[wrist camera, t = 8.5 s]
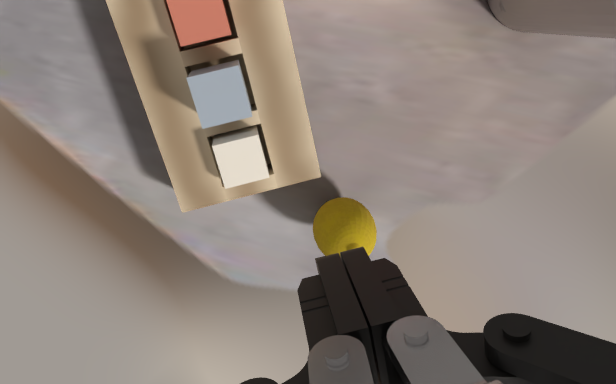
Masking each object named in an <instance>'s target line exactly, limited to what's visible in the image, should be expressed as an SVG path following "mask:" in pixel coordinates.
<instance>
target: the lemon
mask: <svg viewBox="0 0 616 384" xmlns="http://www.w3.org/2000/svg"><path fill="white" fill-rule="evenodd" d="M313 233H314V239H315V241H316V243H317V245H318V248H319V249H320V250H321V251H322V253H323V254H324V255H325V256H327V255H331V254H335V253H339V255H340V252H343V251H347V250H351V249H355V248H359V247H364V248H365V250H366V252H367V254H368V256H369V255H370V253H371V252H372V250H373V249H374V246H375V243H376V226H375V222H374V219H373V217H372V216H371V214H370V212H369V211H368V209H366V208H365V207H364V206H363V205H362V204H361V203H359V202H358V201H356V200H354V199H350V198H335V199H332V200H330V201H328V202H326V203H325V204H324V205H322V206H321V207H320V209H319V210H318V212H317V213H316V216H315V218H314V223H313Z"/></svg>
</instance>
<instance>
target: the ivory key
mask: <svg viewBox="0 0 616 384" xmlns="http://www.w3.org/2000/svg"><path fill="white" fill-rule="evenodd" d="M212 148H213V151H214V154H215V158H216V161H217V164H218V167H219V170H220V174H221V177H222V180H223V183H224V186H225V189H227V188H231V187H235V186H239V185H243V184H247V183H250V182H254V181H258V180H262V179H266V178H270V177H269V172H268V167H267V162H266V158H265V155H264V151H263V147H262V143H261V140H260V136H259V132H258V128H257V125H253V126H249V127H245V128H241V129H237V130H233V131H229V132H225V133H221V134H217V135H214V138H213V143H212Z"/></svg>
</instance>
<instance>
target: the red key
mask: <svg viewBox="0 0 616 384" xmlns="http://www.w3.org/2000/svg"><path fill="white" fill-rule="evenodd" d="M166 1H167V4H168V7H169V10H170V14H171V17H172V20H173V23H174V26H175V30H176V33H177V36H178V39H179V42H180V46H181V47H182V46H186V45H190V44H194V43H199V42H203V41H207V40H211V39H215V38H220V37H224V36H228V35H231V34H232V31H231V27H230V23H229V20H228V16H227V12H226V9H225V5H224V1H223V0H166Z"/></svg>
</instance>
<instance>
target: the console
mask: <svg viewBox="0 0 616 384" xmlns="http://www.w3.org/2000/svg"><path fill="white" fill-rule="evenodd" d="M223 1H224V5H225V9H226V12H227V16H228V20H229V23H230V27H231V31H232V34H231V35H228V36H224V37H220V38H215V39H211V40H207V41H203V42H199V43H194V44H190V45H186V46H182V47H181V46H180V42H179V39H178V36H177V33H176V30H175V26H174V23H173V20H172V17H171V14H170V10H169V7H168V4H167V1H166V0H106V3H107V6H108V8H109V11H110V14H111V17H112V20H113V22H114V25H115V28H116V31H117V33H118V36H119V39H120V42H121V44H122V47H123V50H124V53H125V55H126V58H127V61H128V64H129V67H130V69H131V72H132V75H133V78H134V80H135V83H136V86H137V89H138V91H139V94H140V97H141V100H142V102H143V105H144V108H145V111H146V114H147V116H148V119H149V122H150V125H151V127H152V130H153V133H154V136H155V138H156V141H157V144H158V147H159V149H160V152H161V155H162V158H163V161H164V163H165V166H166V169H167V172H168V174H169V177H170V180H171V183H172V185H173V188H174V191H175V194H176V197H177V199H178V202H179V205H180V208H181V210H182V213H183V212H187V211H191V210H195V209H199V208H203V207H206V206H210V205H214V204H218V203H222V202H226V201H230V200H234V199H238V198H241V197H245V196H249V195H253V194H257V193H261V192H265V191H269V190H273V189H276V188H280V187H284V186H288V185H292V184H296V183H300V182H304V181H308V180H311V179H315V178H319V177H321V173H320V169H319V164H318V160H317V155H316V150H315V146H314V141H313V137H312V132H311V128H310V123H309V119H308V114H307V109H306V105H305V100H304V96H303V91H302V87H301V82H300V78H299V73H298V68H297V64H296V59H295V55H294V50H293V46H292V41H291V37H290V32H289V27H288V23H287V18H286V14H285V9H284V5H283V0H223ZM235 60H239V63H240V67H241V71H242V74H243V78H244V82H245V86H246V89H247V93H248V97H249V101H250V104H251V110H252V117H249V118H245V119H241V120H237V121H233V122H229V123H225V124H221V125H217V126H213V127H209V128H205V129H202V126H201V123H200V120H199V117H198V113H197V110H196V107H195V104H194V101H193V98H192V94H191V91H190V88H189V85H188V82H187V79H186V78H187V76H188V75H189V74H190V72H191V71H193V70H197V69H201V68H206V67H210V66H214V65H218V64H222V63H226V62H231V61H235ZM253 125H257V128H258V132H259V136H260V140H261V143H262V147H263V151H264V155H265V158H266V162H267V167H268V172H269V177H270V178H266V179H262V180H258V181H254V182H250V183H247V184H243V185H239V186H235V187H231V188H227V189H225V186H224V183H223V180H222V177H221V174H220V170H219V167H218V164H217V161H216V158H215V154H214V151H213V148H212V143H213V138H214V135H217V134H221V133H225V132H229V131H233V130H237V129H241V128H245V127H249V126H253Z"/></svg>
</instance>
